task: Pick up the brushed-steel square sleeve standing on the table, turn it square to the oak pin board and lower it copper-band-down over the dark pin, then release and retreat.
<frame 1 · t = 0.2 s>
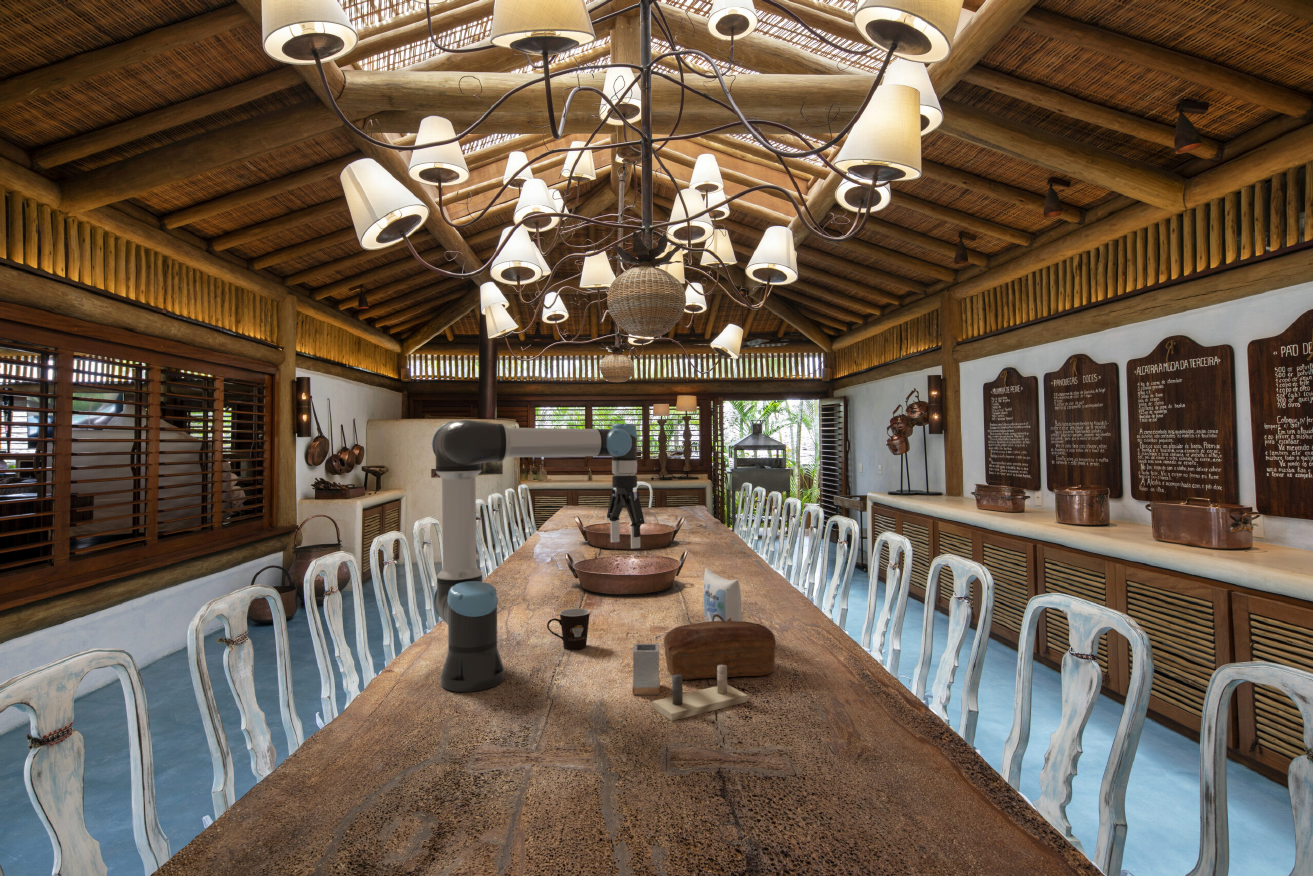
hand: (625, 545, 197), 28 cm above the table, fingers open, 13 cm apart
coffee mug: (569, 647, 188), on the table
pouch: (722, 641, 193), on the table
sleeve: (646, 689, 155), on the table
bread: (719, 673, 167), on the table
pin board: (700, 704, 146), on the table
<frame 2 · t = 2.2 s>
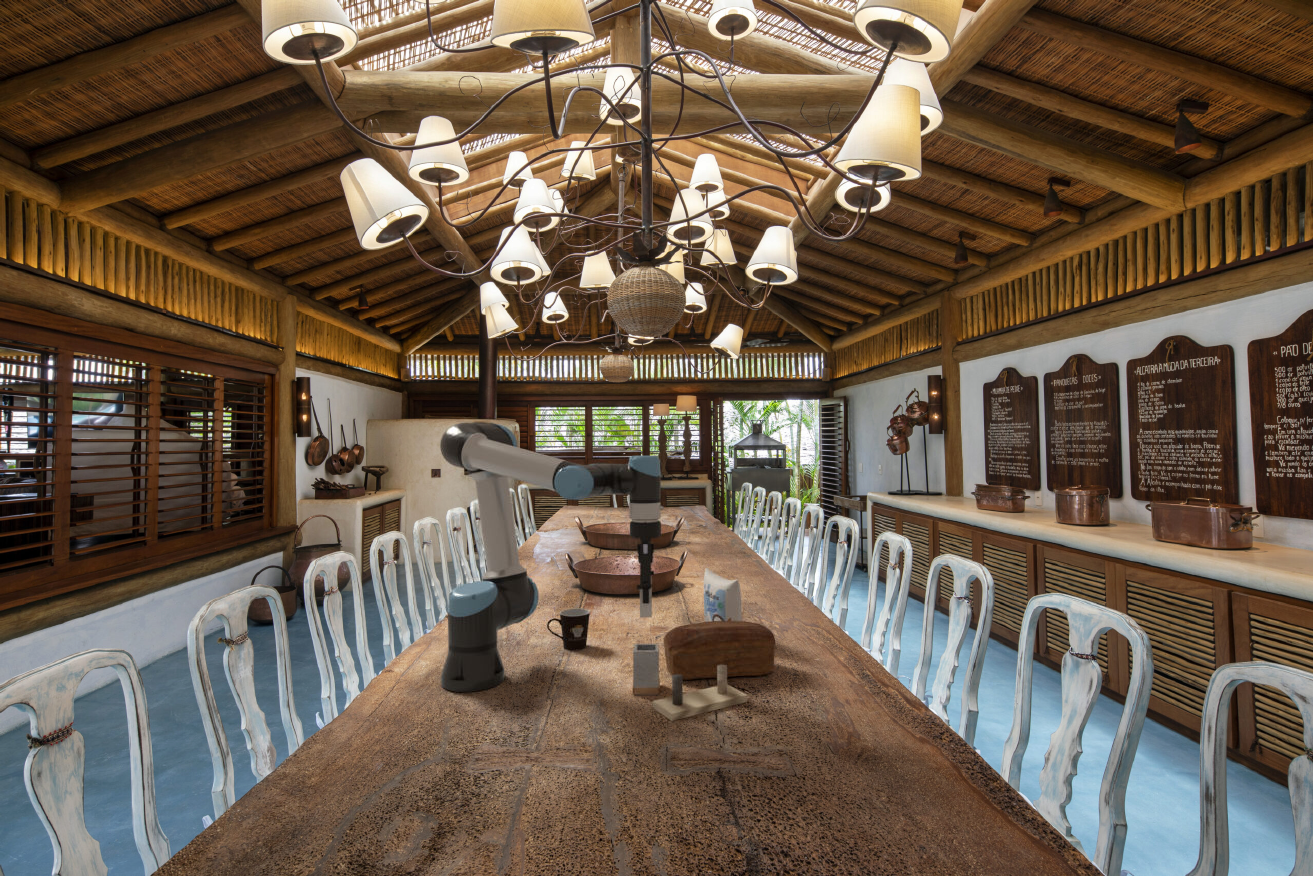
hand: (646, 609, 155), 19 cm above the table, fingers open, 13 cm apart
nothing on the table moved.
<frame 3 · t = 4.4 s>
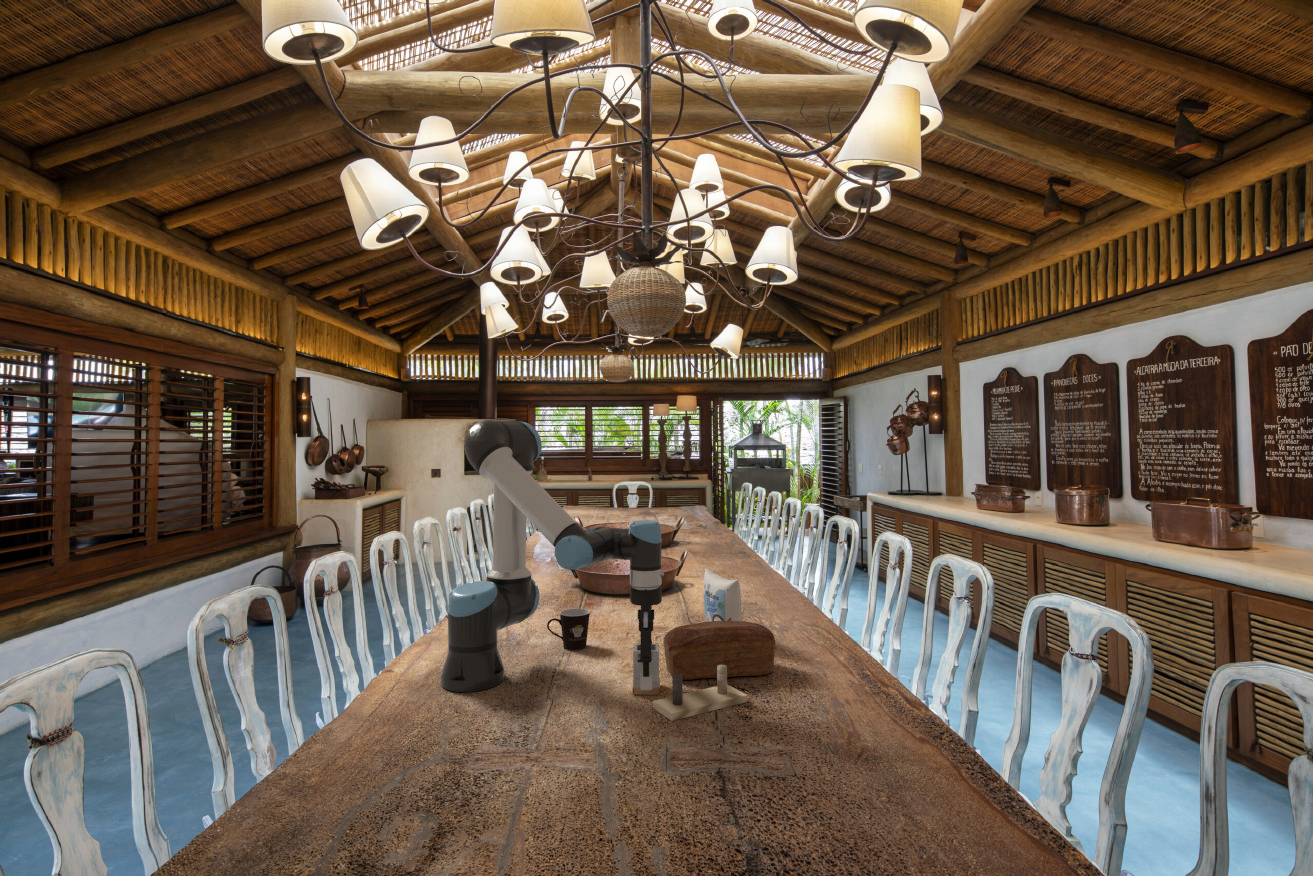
hand: (646, 683, 155), 1 cm above the table, fingers closed on sleeve, 6 cm apart
sleeve: (646, 689, 155), on the table, touching gripper
everything else where it was.
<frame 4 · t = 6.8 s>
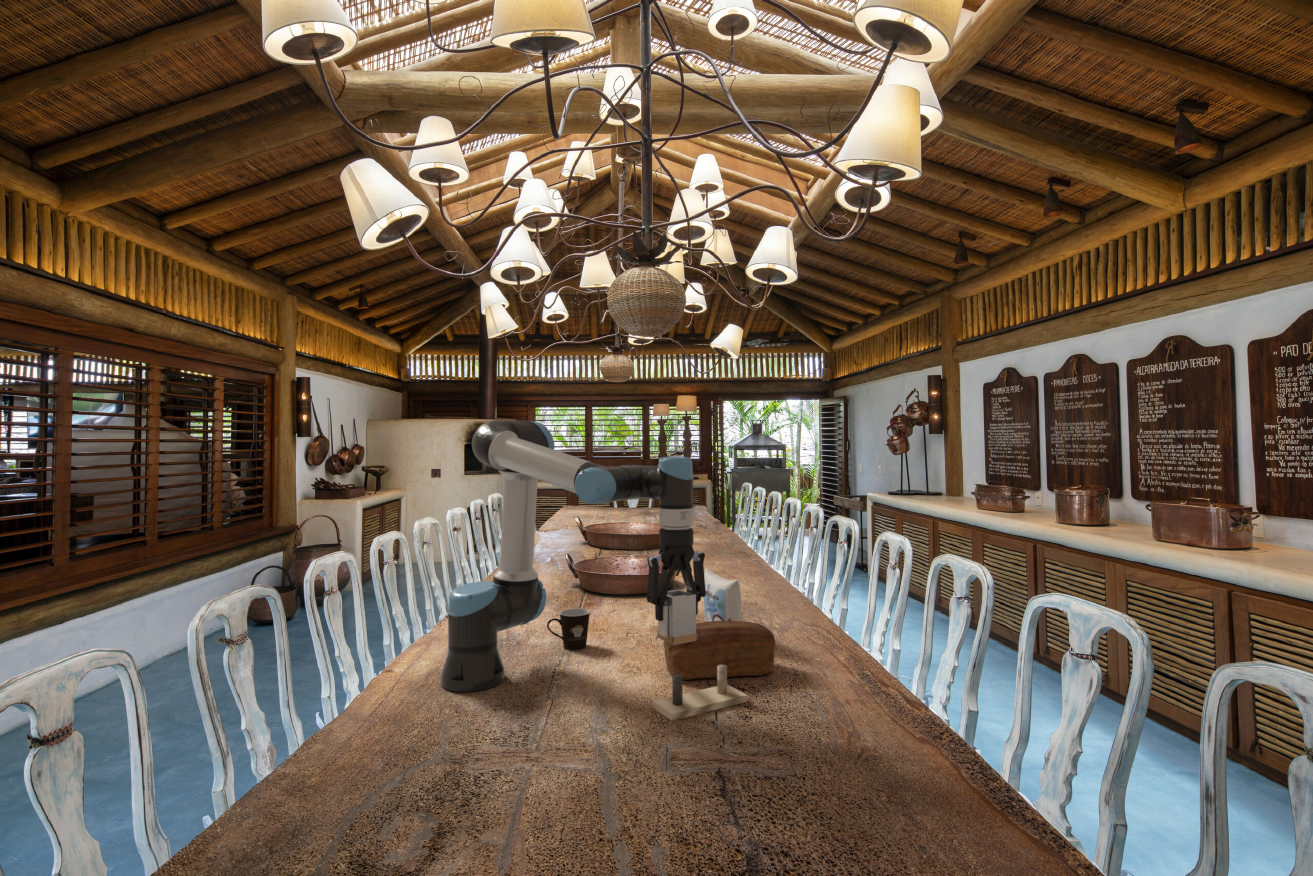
hand: (677, 632, 143), 17 cm above the table, fingers closed on sleeve, 6 cm apart
sleeve: (677, 639, 143), point 16 cm above the table, touching gripper
everything else where it was.
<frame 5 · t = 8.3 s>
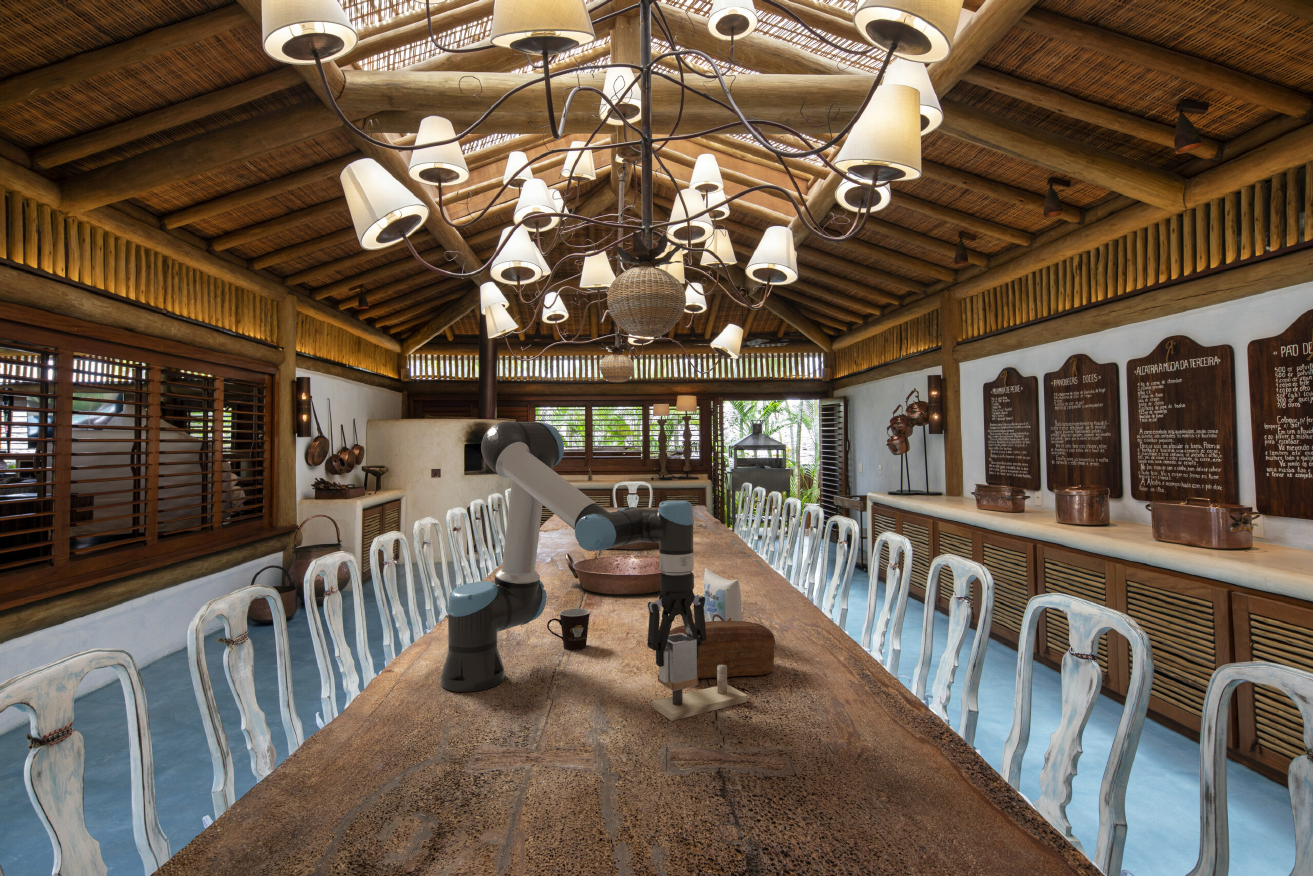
hand: (677, 677, 143), 7 cm above the table, fingers closed on sleeve, 6 cm apart
sleeve: (677, 684, 143), point 6 cm above the table, touching gripper
everything else where it was.
when the fingers open (5 cm above the table, at t = 9.0 s): sleeve drops 2 cm, resting on pin board.
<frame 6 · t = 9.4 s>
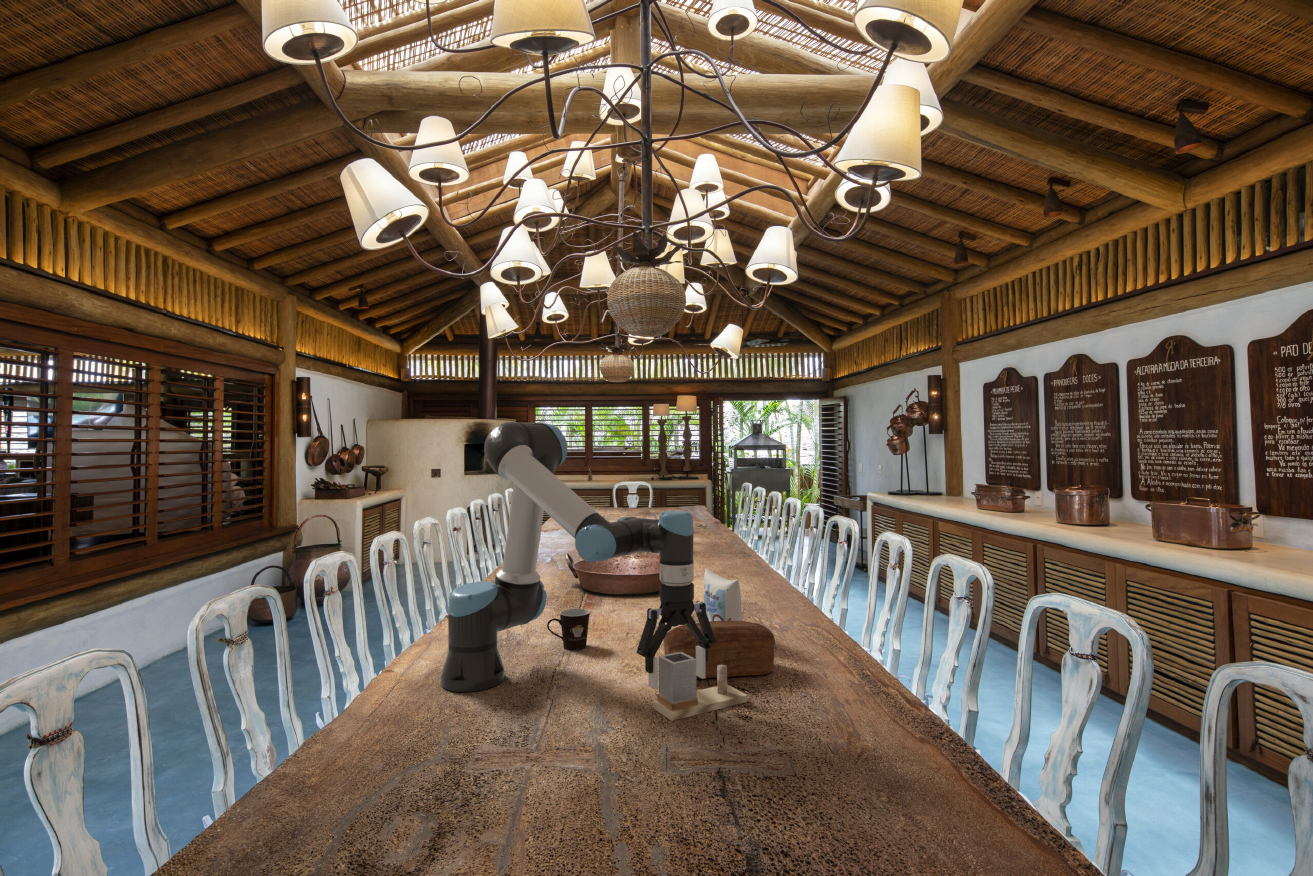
hand: (677, 682, 143), 6 cm above the table, fingers open, 11 cm apart
sleeve: (677, 703, 143), point 1 cm above the table, touching pin board
everything else where it was.
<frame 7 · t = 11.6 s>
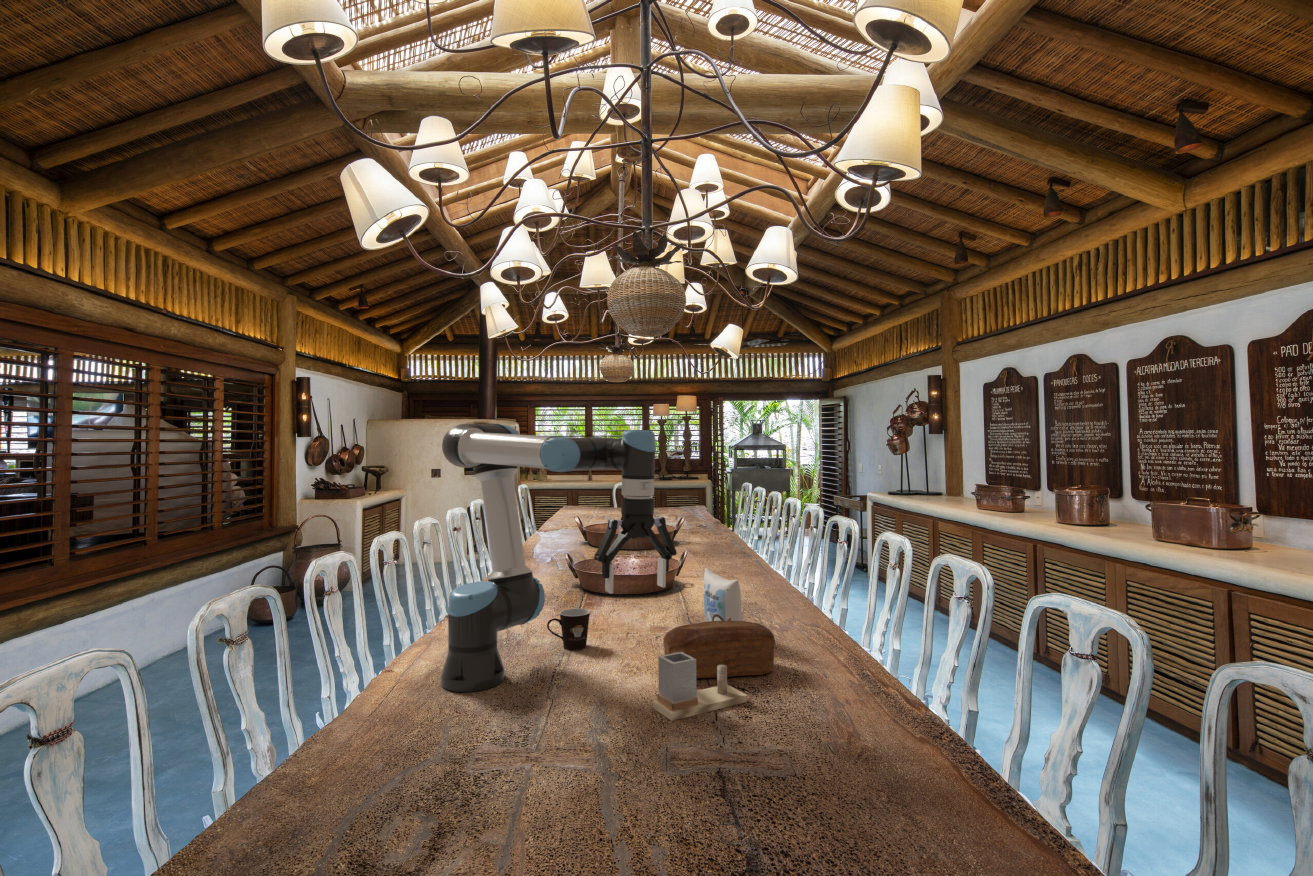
hand: (635, 589, 150), 25 cm above the table, fingers open, 13 cm apart
nothing on the table moved.
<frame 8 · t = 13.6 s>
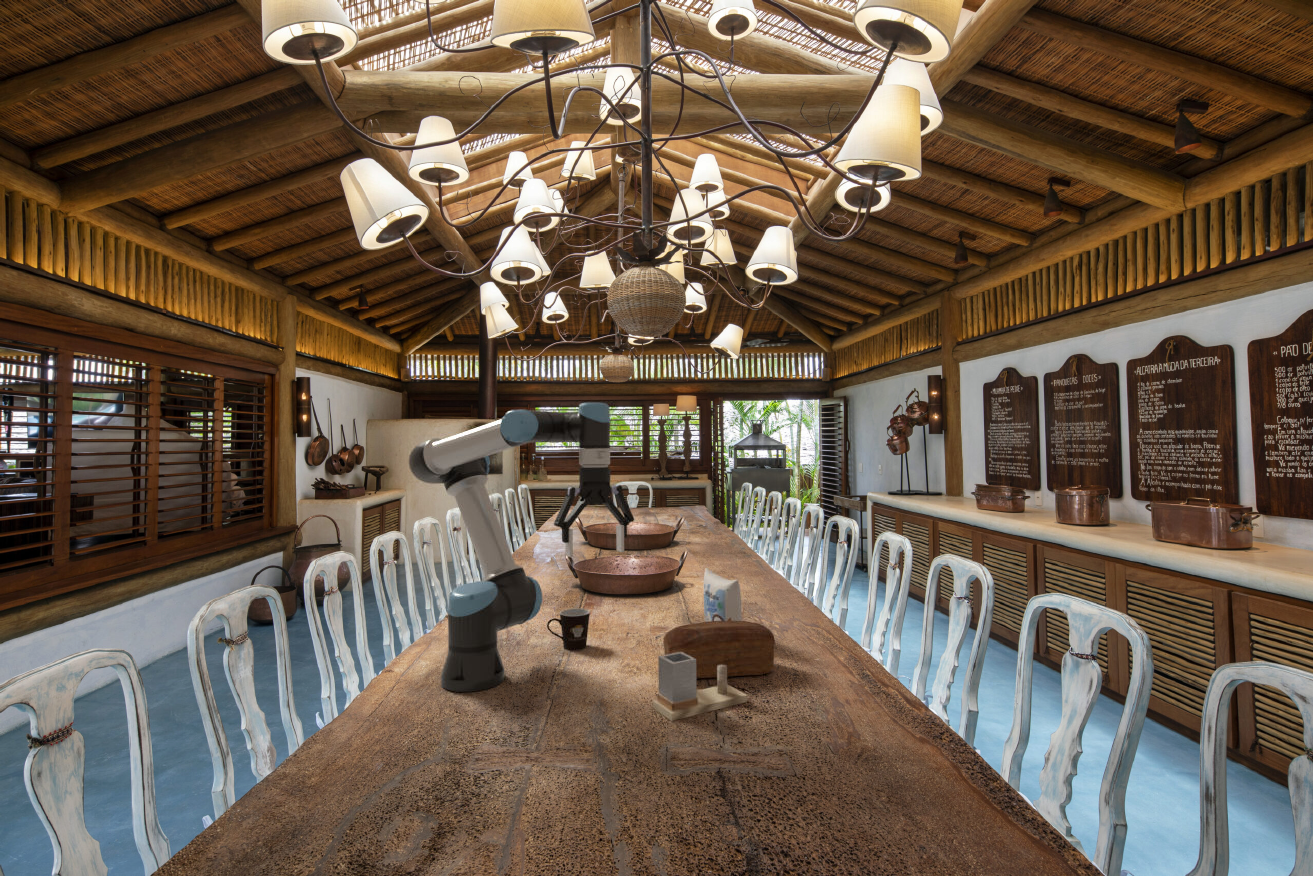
hand: (595, 553, 158), 32 cm above the table, fingers open, 13 cm apart
nothing on the table moved.
at the end: sleeve 0.0 cm from the target spot on the pin board, point 1.5 cm above the pin board's base; sleeve tilted 0°; the gripper is holding nothing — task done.
